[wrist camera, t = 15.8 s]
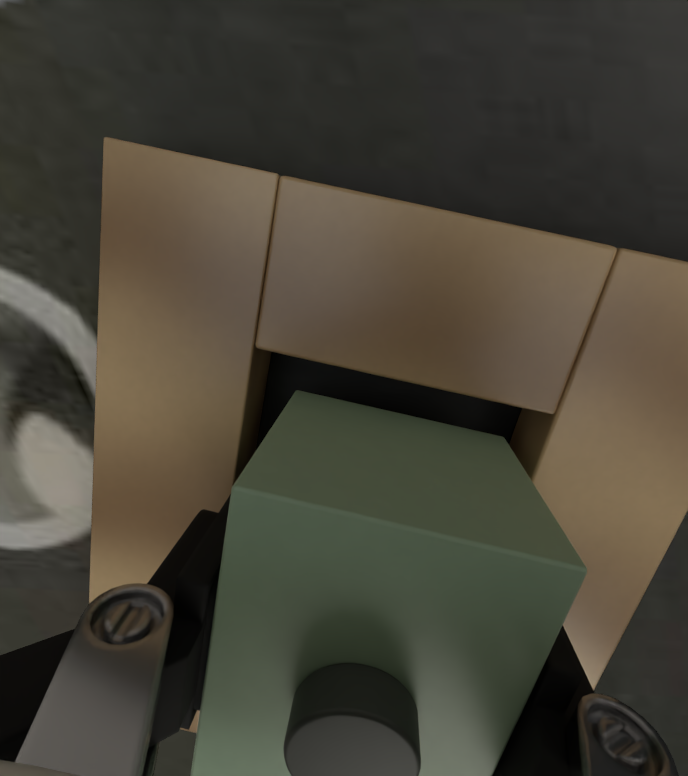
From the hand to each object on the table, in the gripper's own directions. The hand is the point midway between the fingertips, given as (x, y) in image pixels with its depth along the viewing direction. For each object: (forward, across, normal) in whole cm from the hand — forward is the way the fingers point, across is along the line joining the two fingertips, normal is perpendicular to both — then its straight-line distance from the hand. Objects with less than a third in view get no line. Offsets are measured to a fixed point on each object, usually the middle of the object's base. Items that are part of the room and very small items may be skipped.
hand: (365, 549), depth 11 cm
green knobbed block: (+1, 0, 0) cm, 1 cm away
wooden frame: (+2, 0, 0) cm, 2 cm away
